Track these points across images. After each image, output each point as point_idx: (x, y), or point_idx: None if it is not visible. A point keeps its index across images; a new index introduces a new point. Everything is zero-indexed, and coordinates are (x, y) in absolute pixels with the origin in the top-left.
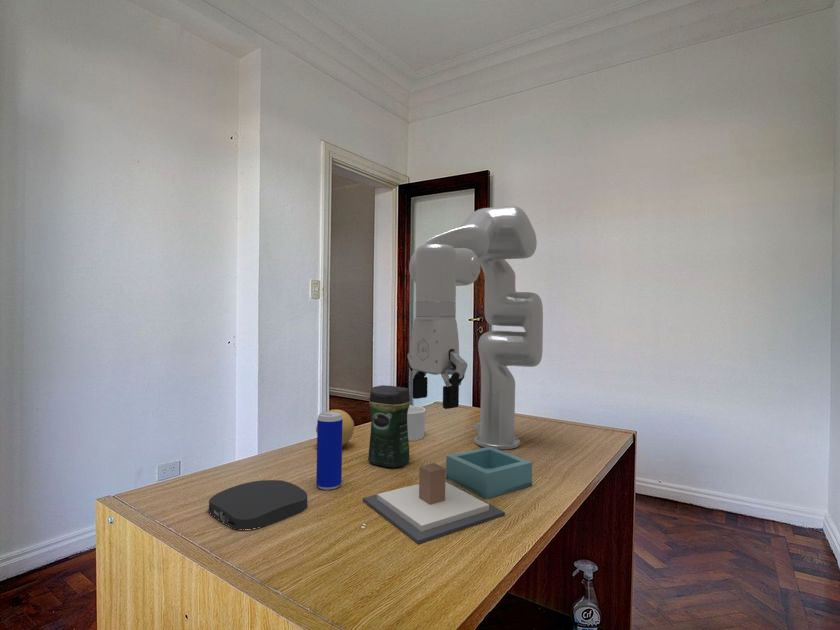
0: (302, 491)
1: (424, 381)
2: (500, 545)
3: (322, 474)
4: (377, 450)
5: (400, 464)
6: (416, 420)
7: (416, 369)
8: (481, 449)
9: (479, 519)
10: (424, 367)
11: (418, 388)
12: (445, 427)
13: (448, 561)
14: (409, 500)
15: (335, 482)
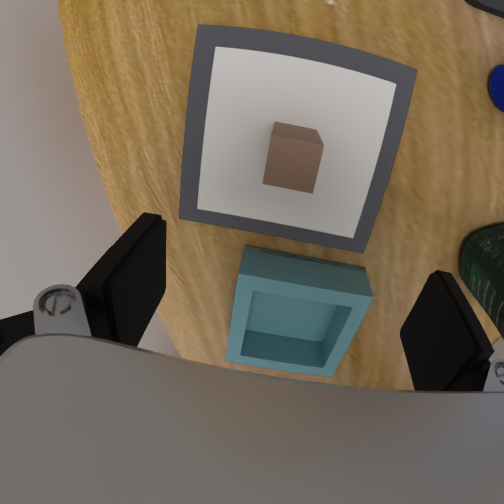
0: (488, 2)
1: (428, 385)
2: (118, 132)
3: None
4: None
5: (463, 249)
6: None
7: (463, 393)
8: (335, 360)
9: (184, 163)
10: (299, 429)
11: (439, 325)
12: None
13: (133, 36)
14: (321, 105)
15: (494, 82)
